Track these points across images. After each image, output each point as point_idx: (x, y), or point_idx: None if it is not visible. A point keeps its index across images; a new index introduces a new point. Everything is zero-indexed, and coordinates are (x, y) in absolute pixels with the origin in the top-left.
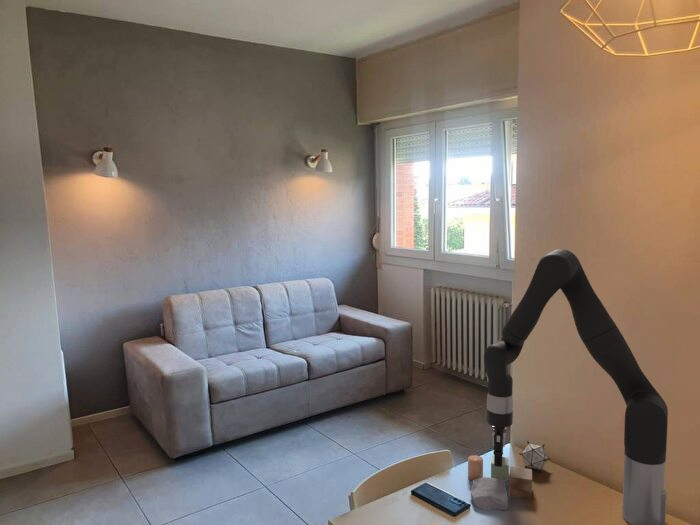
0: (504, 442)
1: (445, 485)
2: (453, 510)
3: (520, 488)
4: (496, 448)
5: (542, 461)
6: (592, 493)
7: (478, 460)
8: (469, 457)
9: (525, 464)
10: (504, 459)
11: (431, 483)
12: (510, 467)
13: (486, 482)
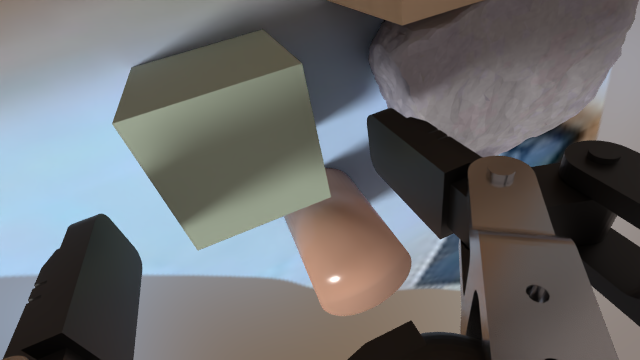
0: (595, 298)
1: (417, 243)
2: (555, 150)
3: None
4: (135, 288)
5: None
6: None
7: (380, 262)
8: (363, 307)
9: None
10: (196, 144)
11: (416, 274)
12: (420, 14)
13: (477, 124)
